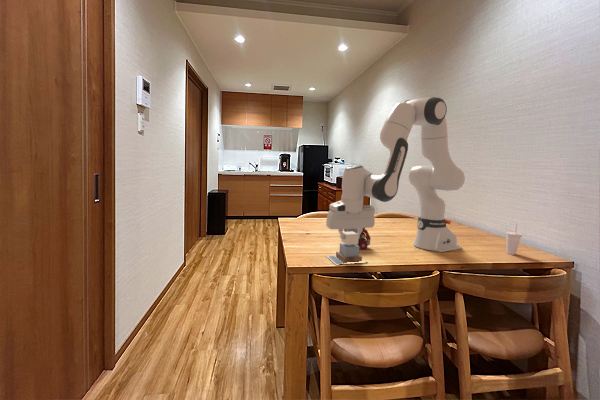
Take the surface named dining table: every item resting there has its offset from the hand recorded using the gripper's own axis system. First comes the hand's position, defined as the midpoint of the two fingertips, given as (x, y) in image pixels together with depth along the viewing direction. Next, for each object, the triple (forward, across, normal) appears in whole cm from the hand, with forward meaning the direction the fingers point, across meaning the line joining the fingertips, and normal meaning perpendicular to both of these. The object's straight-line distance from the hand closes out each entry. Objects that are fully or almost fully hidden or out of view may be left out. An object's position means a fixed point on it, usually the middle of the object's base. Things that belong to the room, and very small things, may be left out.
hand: (349, 238), depth 132 cm
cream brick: (+2, 0, 0) cm, 2 cm away
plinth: (+9, 0, 0) cm, 9 cm away
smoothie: (+9, -79, +7) cm, 80 cm away
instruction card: (+9, +1, 0) cm, 9 cm away
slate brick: (+7, 0, 0) cm, 7 cm away
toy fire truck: (+9, -11, -15) cm, 21 cm away
